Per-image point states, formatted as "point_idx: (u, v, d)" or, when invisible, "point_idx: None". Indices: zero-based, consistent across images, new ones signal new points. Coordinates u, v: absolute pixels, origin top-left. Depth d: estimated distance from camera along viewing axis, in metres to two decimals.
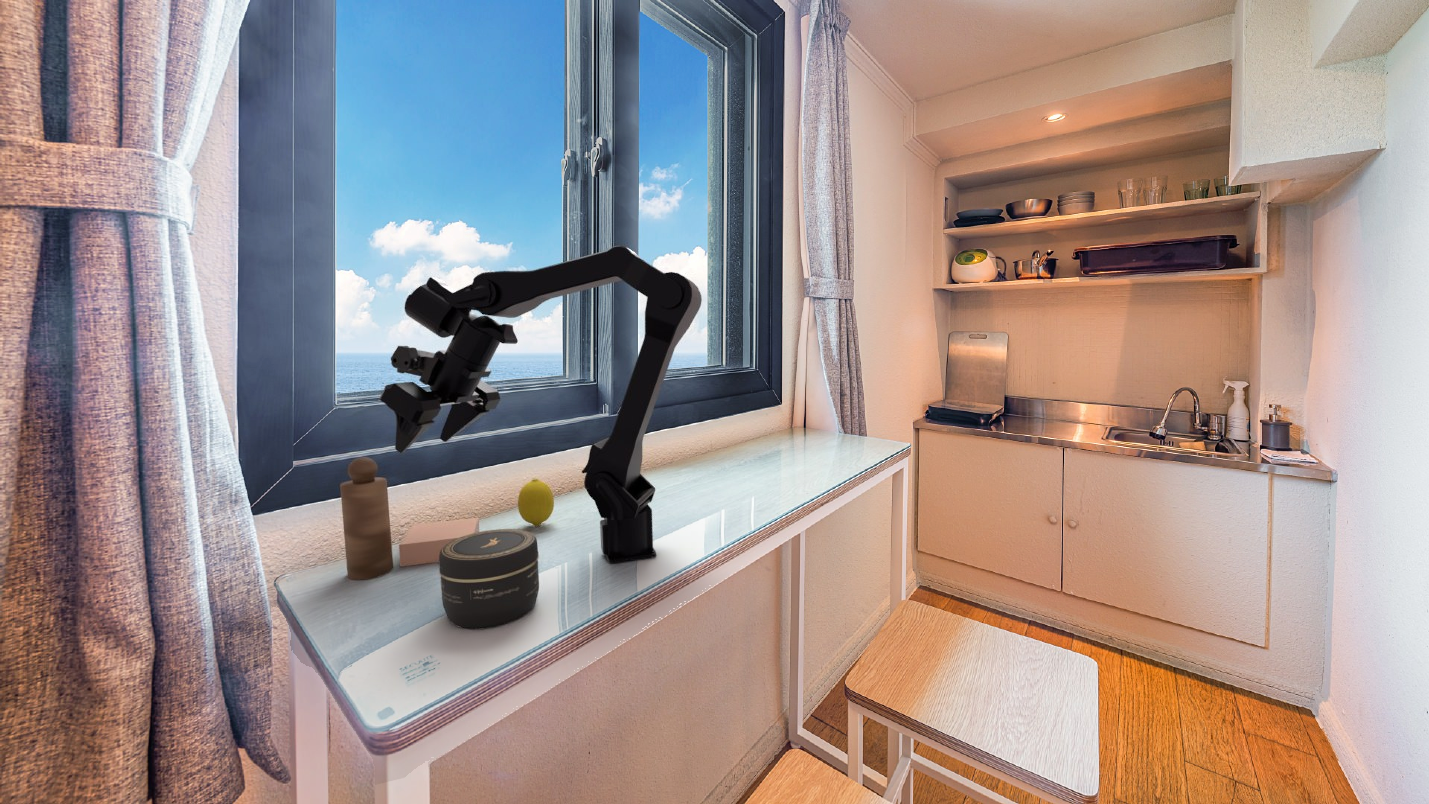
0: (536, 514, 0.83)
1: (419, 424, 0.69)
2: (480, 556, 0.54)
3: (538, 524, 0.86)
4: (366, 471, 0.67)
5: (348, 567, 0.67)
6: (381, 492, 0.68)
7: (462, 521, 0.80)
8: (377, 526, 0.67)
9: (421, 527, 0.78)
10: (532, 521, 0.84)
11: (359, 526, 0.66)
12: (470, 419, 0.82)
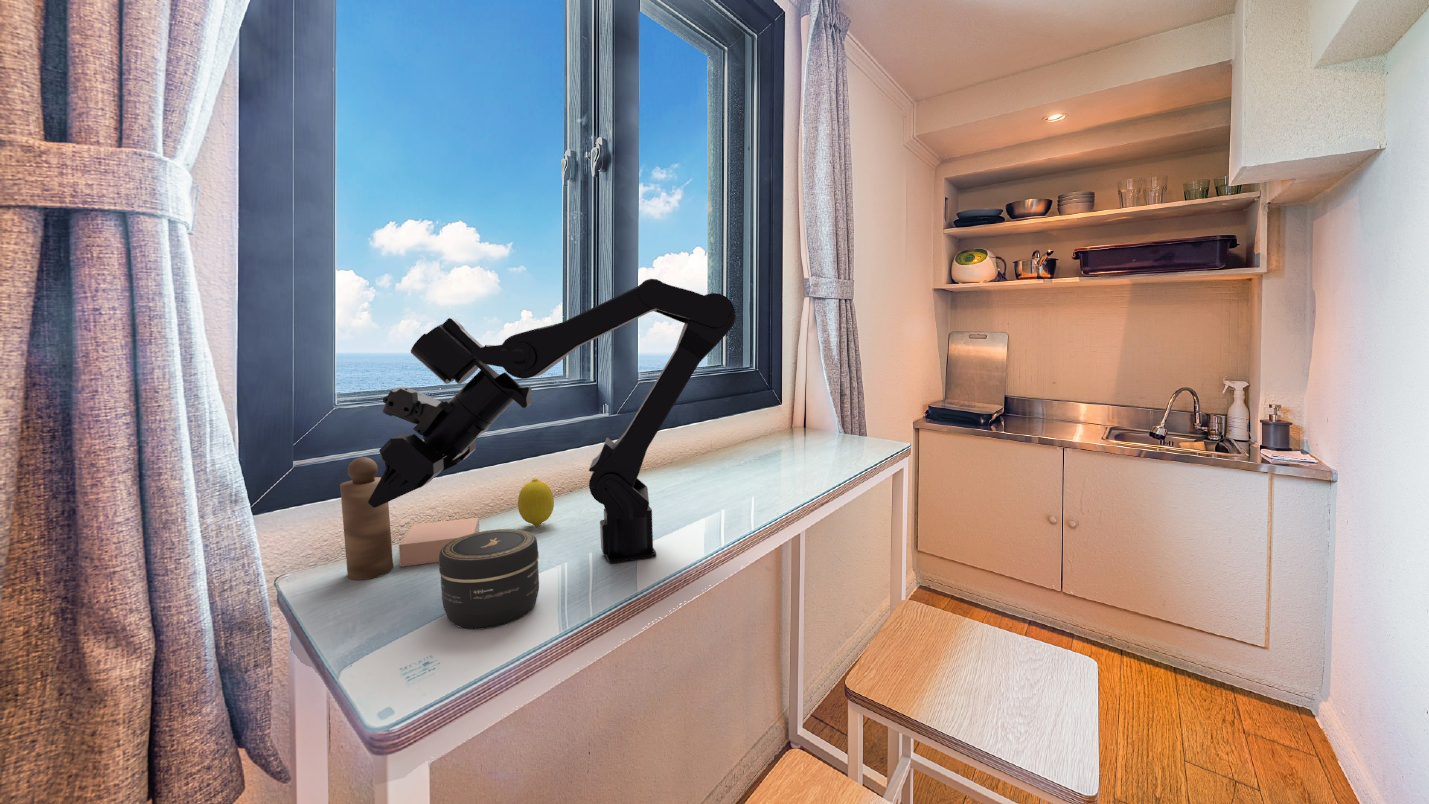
0: (536, 514, 0.83)
1: (420, 486, 0.62)
2: (480, 556, 0.54)
3: (538, 524, 0.86)
4: (366, 471, 0.67)
5: (348, 567, 0.67)
6: None
7: (462, 521, 0.80)
8: (377, 526, 0.67)
9: (421, 527, 0.78)
10: (532, 521, 0.84)
11: (359, 526, 0.66)
12: (443, 468, 0.74)
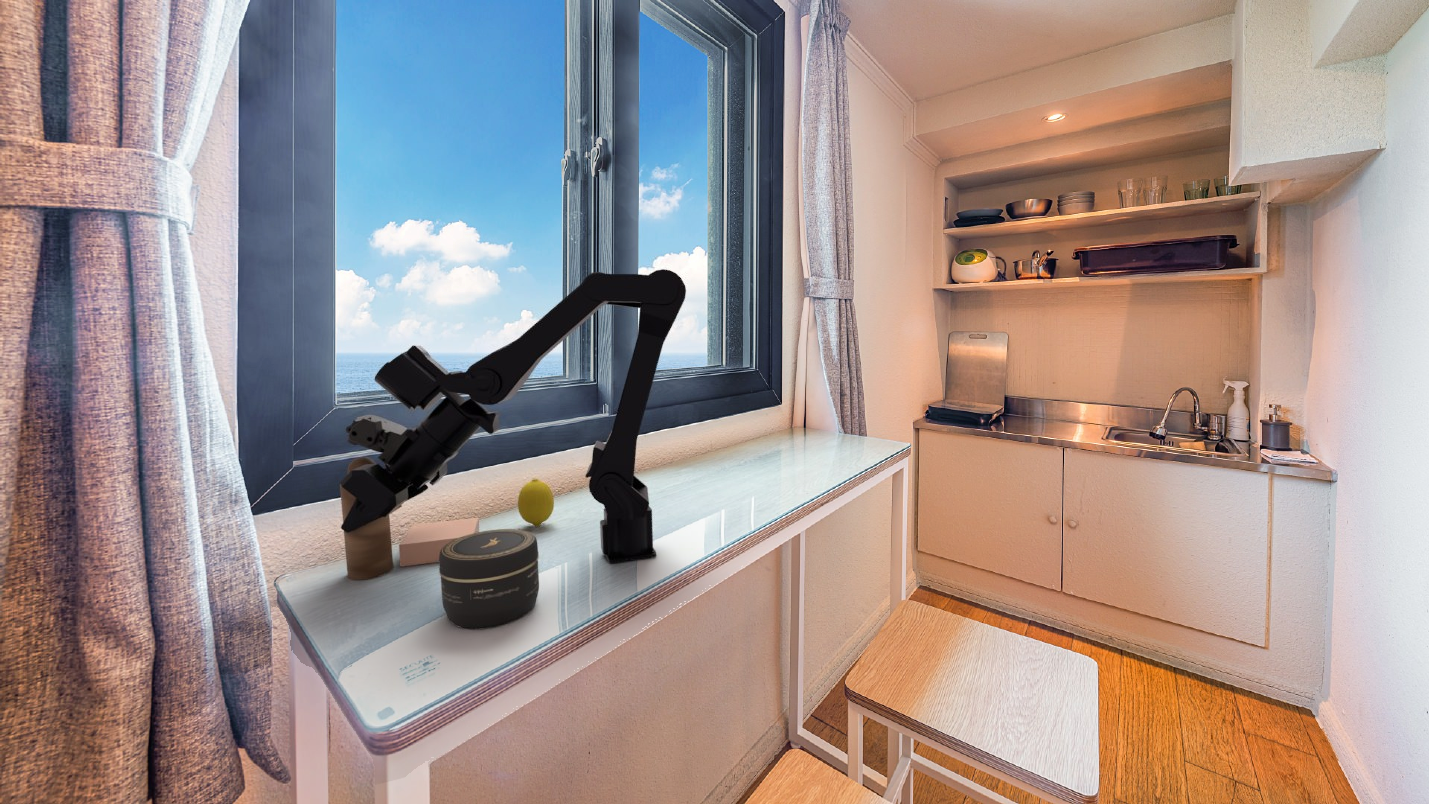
0: (536, 514, 0.83)
1: None
2: (480, 556, 0.54)
3: (538, 524, 0.86)
4: None
5: (348, 567, 0.67)
6: None
7: (462, 521, 0.80)
8: (377, 526, 0.67)
9: (421, 527, 0.78)
10: (532, 521, 0.84)
11: None
12: (407, 498, 0.72)
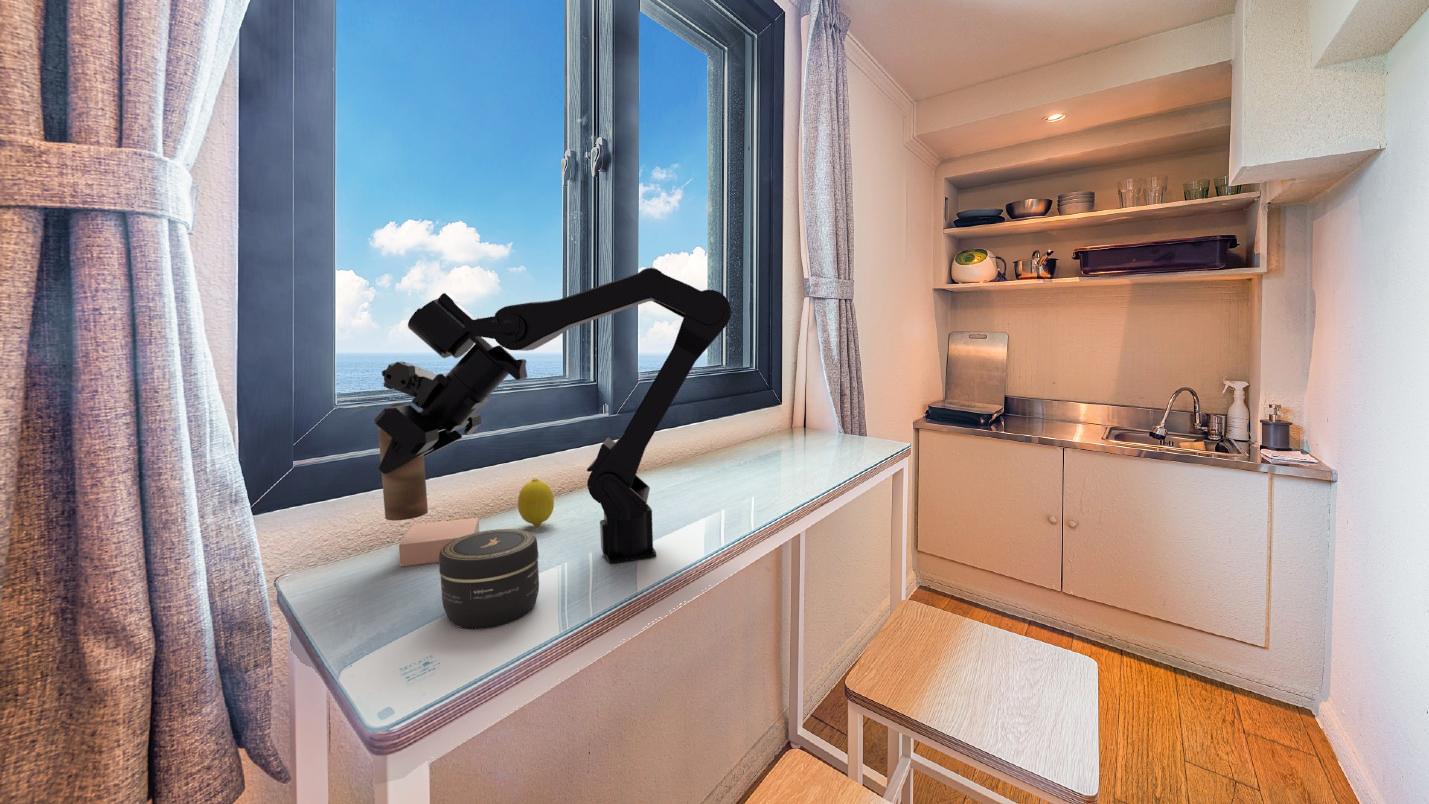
0: (536, 514, 0.83)
1: (422, 452, 0.65)
2: (480, 556, 0.54)
3: (538, 524, 0.86)
4: None
5: (385, 508, 0.70)
6: None
7: (462, 521, 0.80)
8: (411, 469, 0.70)
9: (421, 527, 0.78)
10: (532, 521, 0.84)
11: None
12: (442, 445, 0.74)
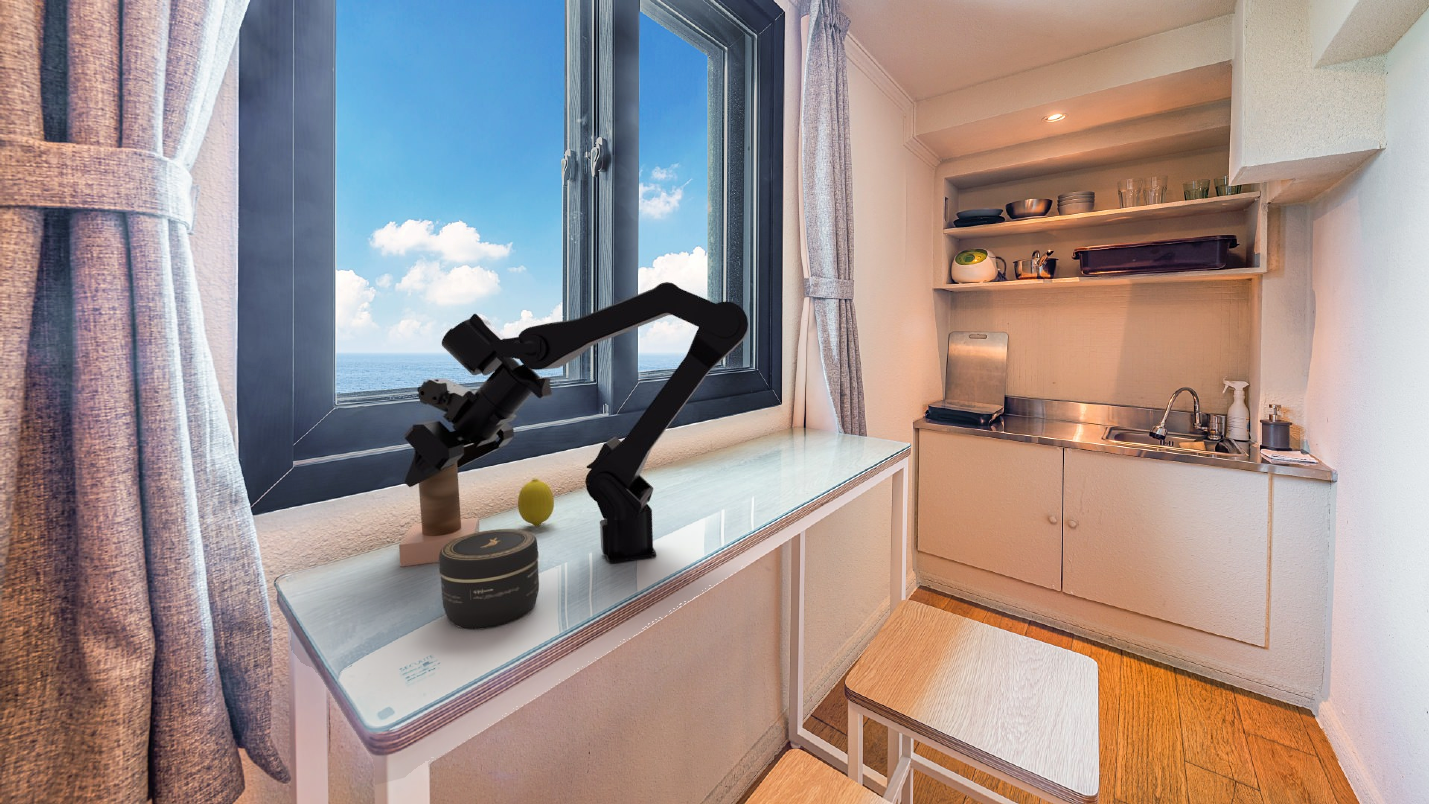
0: (536, 514, 0.83)
1: (440, 469, 0.67)
2: (480, 556, 0.54)
3: (538, 524, 0.86)
4: None
5: (422, 523, 0.74)
6: None
7: (462, 521, 0.80)
8: (445, 488, 0.74)
9: (421, 527, 0.78)
10: (532, 521, 0.84)
11: (429, 487, 0.73)
12: (481, 454, 0.80)
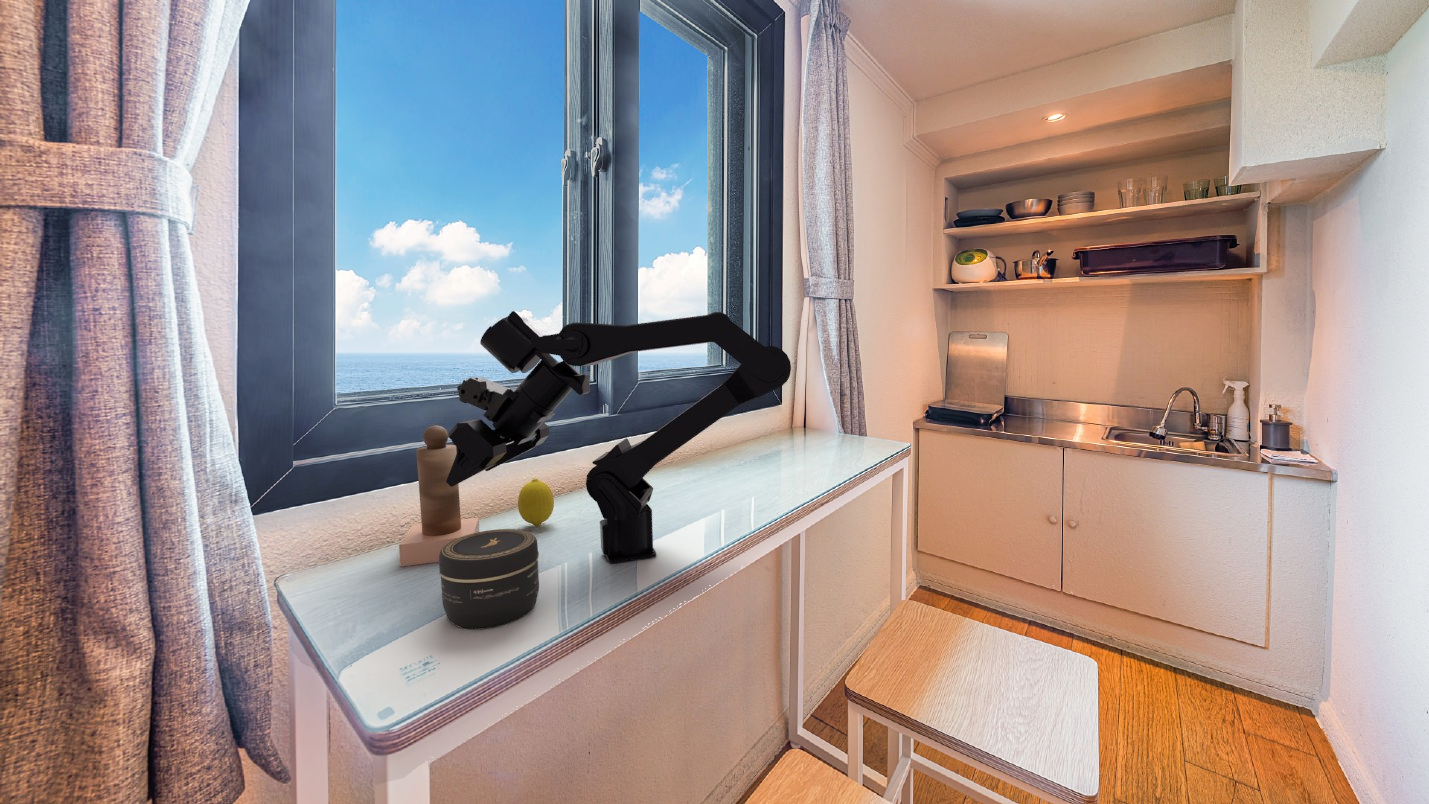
0: (536, 514, 0.83)
1: (484, 467, 0.66)
2: (480, 556, 0.54)
3: (538, 524, 0.86)
4: (437, 438, 0.74)
5: (422, 523, 0.74)
6: (449, 457, 0.74)
7: (462, 521, 0.80)
8: (445, 488, 0.74)
9: (421, 527, 0.78)
10: (532, 521, 0.84)
11: (429, 487, 0.73)
12: (518, 453, 0.79)
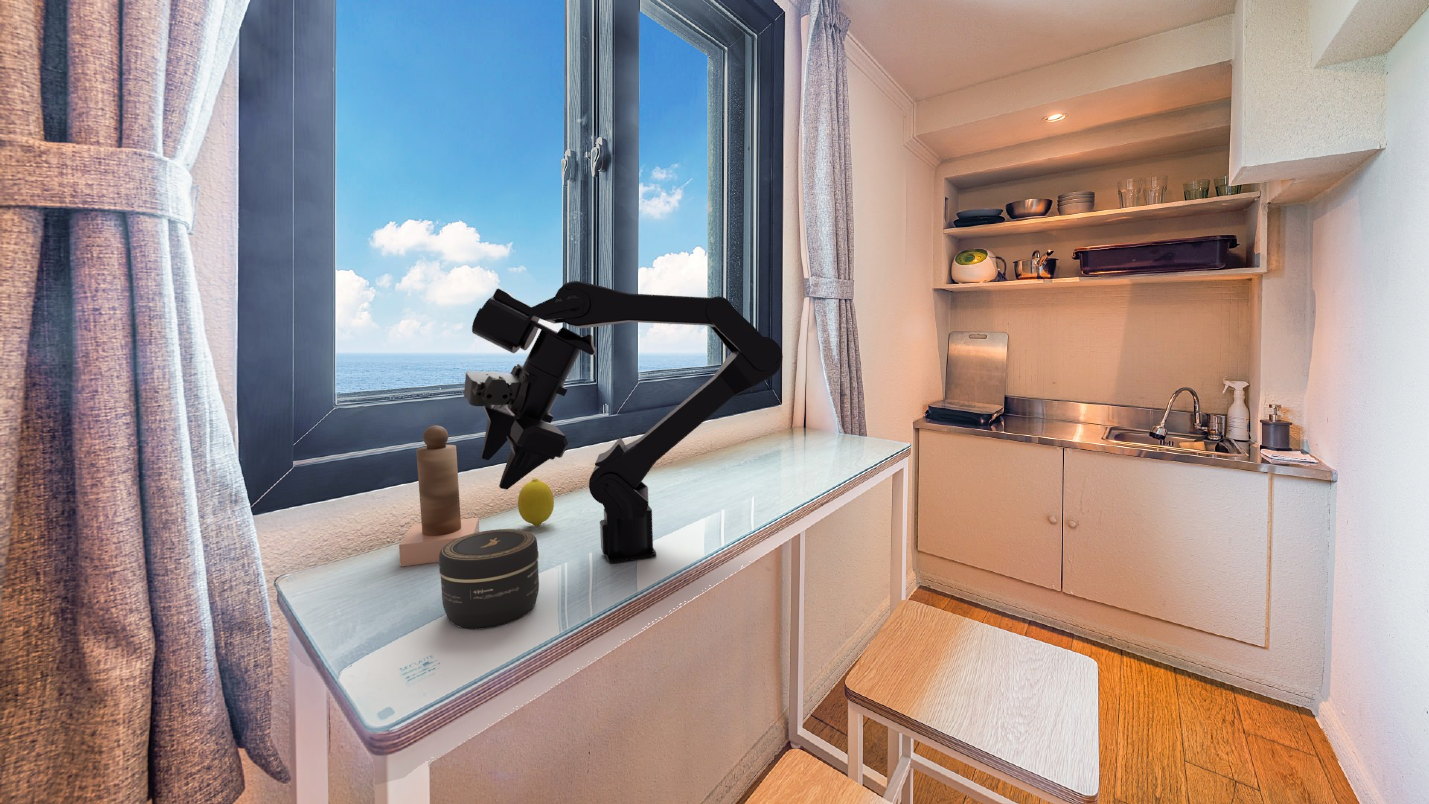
0: (536, 514, 0.83)
1: None
2: (480, 556, 0.54)
3: (538, 524, 0.86)
4: (437, 438, 0.74)
5: (422, 523, 0.74)
6: (449, 457, 0.74)
7: (462, 521, 0.80)
8: (445, 488, 0.74)
9: (421, 527, 0.78)
10: (532, 521, 0.84)
11: (429, 487, 0.73)
12: None
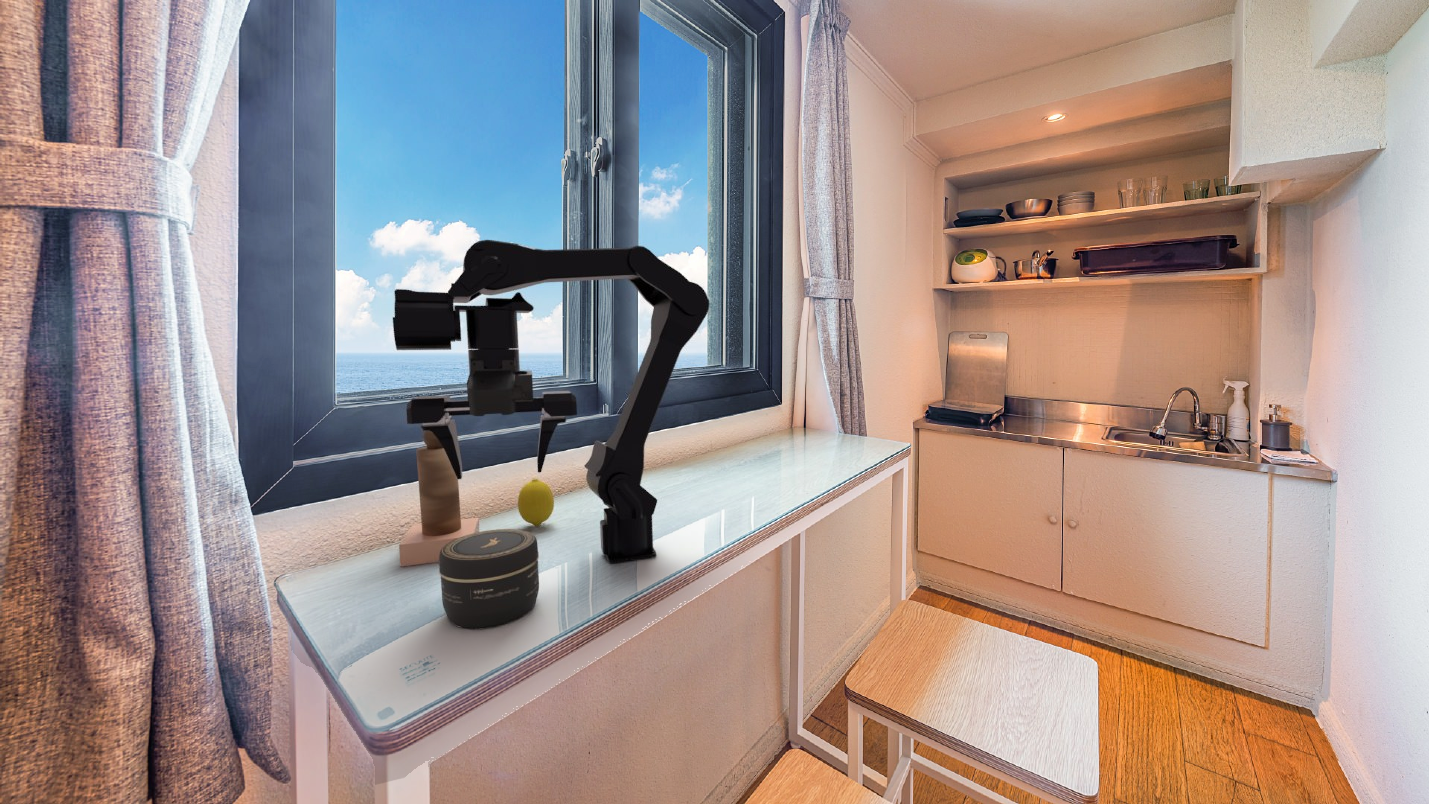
0: (536, 514, 0.83)
1: None
2: (480, 556, 0.54)
3: (538, 524, 0.86)
4: None
5: (422, 523, 0.74)
6: None
7: (462, 521, 0.80)
8: (445, 488, 0.74)
9: (421, 527, 0.78)
10: (532, 521, 0.84)
11: (429, 487, 0.73)
12: (456, 433, 0.66)
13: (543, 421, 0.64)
